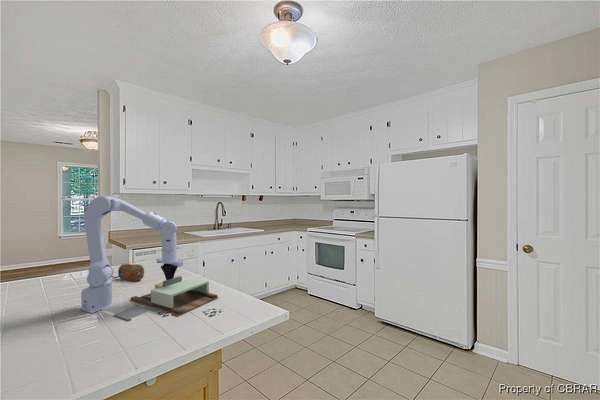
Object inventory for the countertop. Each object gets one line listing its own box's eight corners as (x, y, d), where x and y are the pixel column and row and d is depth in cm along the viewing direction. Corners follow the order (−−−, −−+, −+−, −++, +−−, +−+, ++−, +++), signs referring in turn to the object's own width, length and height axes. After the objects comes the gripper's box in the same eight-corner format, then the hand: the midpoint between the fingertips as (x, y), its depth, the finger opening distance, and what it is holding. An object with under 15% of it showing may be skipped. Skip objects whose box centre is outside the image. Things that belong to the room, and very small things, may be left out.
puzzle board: (177, 316, 100) (177, 312, 100) (129, 301, 115) (129, 298, 115) (218, 298, 118) (218, 294, 118) (171, 287, 132) (171, 284, 132)
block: (160, 297, 117) (160, 286, 117) (154, 296, 119) (154, 284, 119) (169, 294, 121) (169, 283, 121) (163, 293, 123) (163, 281, 123)
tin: (117, 279, 145) (117, 263, 145) (123, 278, 148) (122, 262, 148) (140, 282, 140) (140, 265, 140) (145, 280, 143) (145, 264, 143)
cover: (171, 308, 103) (170, 289, 103) (151, 302, 109) (150, 285, 109) (208, 292, 120) (208, 276, 119) (189, 288, 125) (189, 273, 125)
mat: (128, 321, 97) (128, 319, 97) (113, 315, 101) (113, 314, 101) (152, 311, 105) (152, 309, 105) (138, 307, 109) (138, 305, 109)
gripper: (188, 249, 117) (189, 281, 118) (166, 246, 124) (167, 276, 124) (174, 252, 111) (175, 286, 111) (151, 249, 118) (152, 281, 118)
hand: (169, 281), depth 117 cm, fingers closed
